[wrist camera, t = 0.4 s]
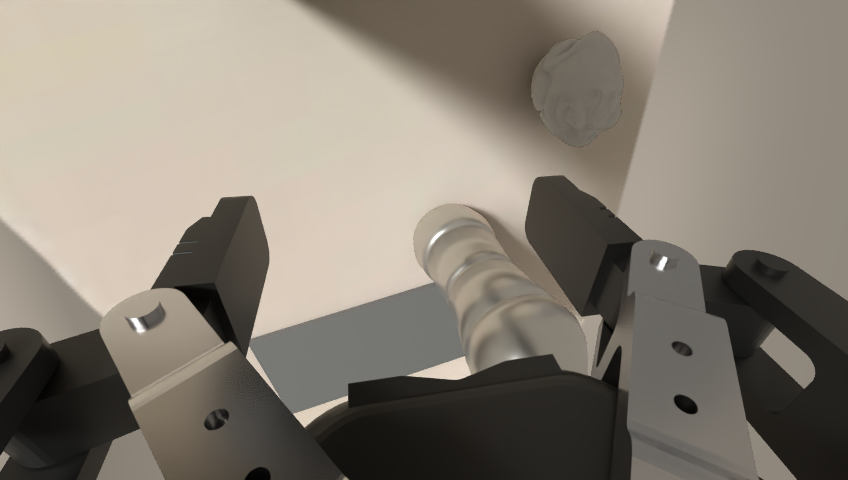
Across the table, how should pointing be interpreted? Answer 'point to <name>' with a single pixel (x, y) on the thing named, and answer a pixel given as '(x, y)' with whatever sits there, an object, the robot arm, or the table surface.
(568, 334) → the plastic bottle
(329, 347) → the charcoal rubber mat
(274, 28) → the table surface
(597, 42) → the grey cupcake
